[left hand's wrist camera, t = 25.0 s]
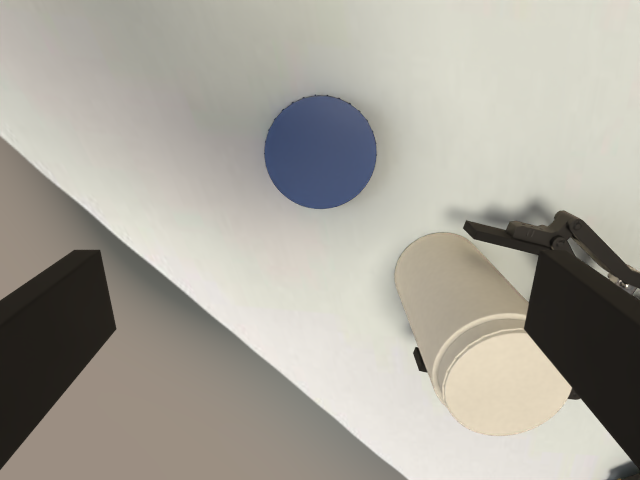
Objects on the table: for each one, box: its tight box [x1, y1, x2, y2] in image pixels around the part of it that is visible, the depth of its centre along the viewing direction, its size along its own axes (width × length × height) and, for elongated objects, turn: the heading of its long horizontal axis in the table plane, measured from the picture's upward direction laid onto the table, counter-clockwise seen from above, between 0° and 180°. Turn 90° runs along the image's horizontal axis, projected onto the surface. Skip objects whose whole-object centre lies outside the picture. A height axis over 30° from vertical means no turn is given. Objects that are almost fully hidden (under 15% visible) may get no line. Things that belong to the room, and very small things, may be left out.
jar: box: [395, 233, 572, 436], centre depth 35 cm, size 9×9×17 cm
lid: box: [264, 95, 377, 209], centre depth 38 cm, size 10×10×2 cm
